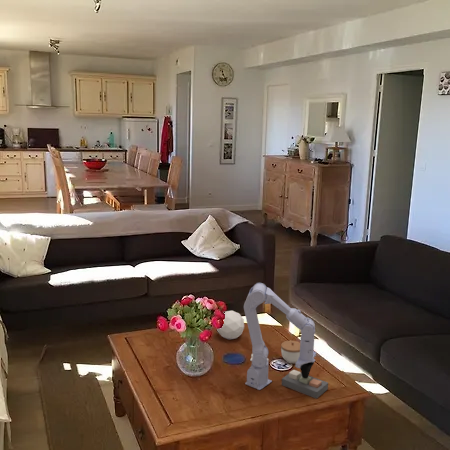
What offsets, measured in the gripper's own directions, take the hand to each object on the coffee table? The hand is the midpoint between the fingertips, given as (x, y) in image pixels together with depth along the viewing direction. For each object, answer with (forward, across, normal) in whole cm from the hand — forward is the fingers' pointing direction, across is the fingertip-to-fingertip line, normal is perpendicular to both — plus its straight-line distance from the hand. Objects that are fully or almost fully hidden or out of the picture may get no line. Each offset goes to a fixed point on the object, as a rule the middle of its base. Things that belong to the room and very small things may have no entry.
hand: (305, 377), depth 218 cm
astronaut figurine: (+5, +8, +29) cm, 31 cm away
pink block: (+3, 0, -5) cm, 6 cm away
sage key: (+3, 0, 0) cm, 3 cm away
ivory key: (+2, 0, +5) cm, 5 cm away
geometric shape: (+5, +18, +55) cm, 58 cm away
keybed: (+5, 0, 0) cm, 5 cm away
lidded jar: (+5, +18, +17) cm, 25 cm away
